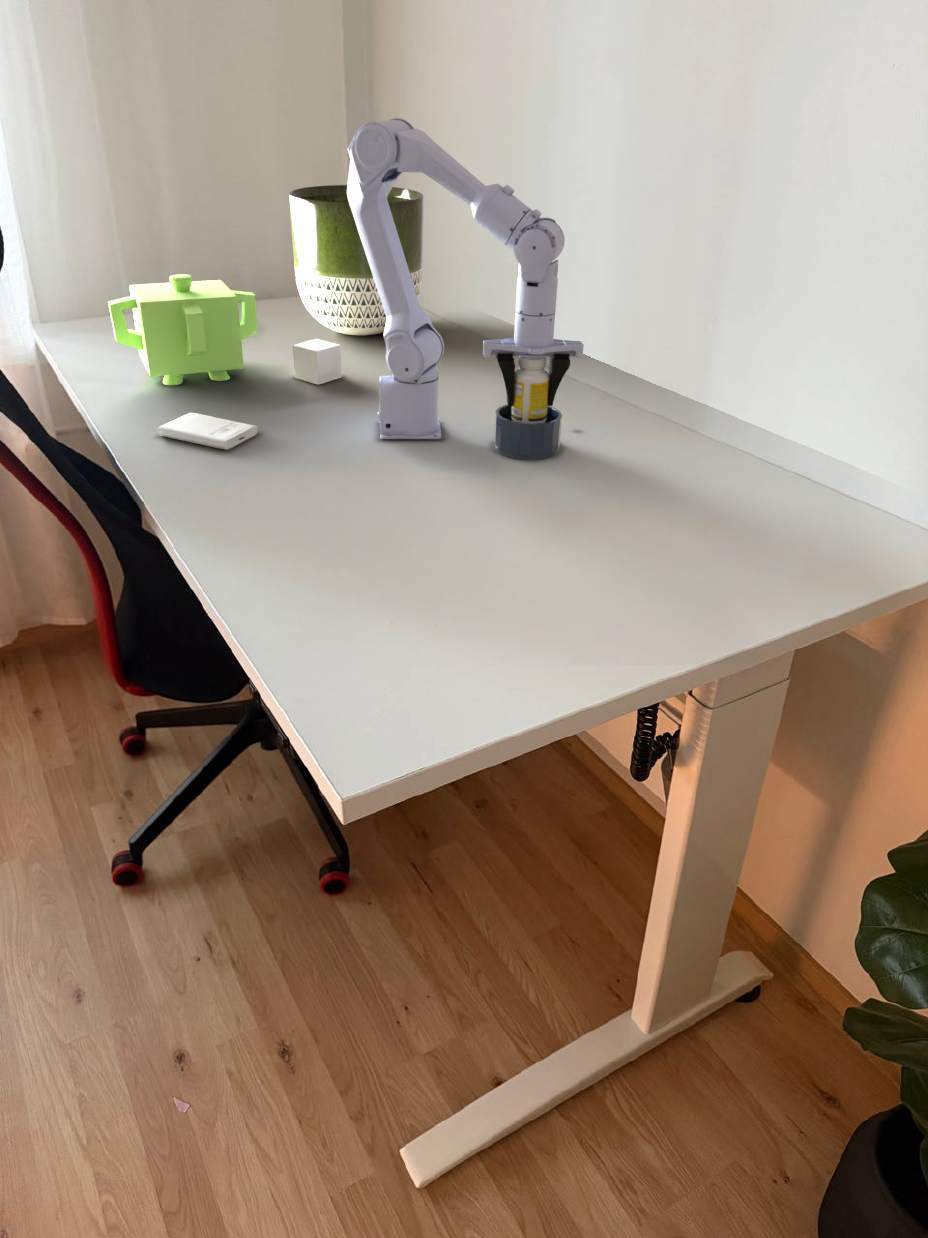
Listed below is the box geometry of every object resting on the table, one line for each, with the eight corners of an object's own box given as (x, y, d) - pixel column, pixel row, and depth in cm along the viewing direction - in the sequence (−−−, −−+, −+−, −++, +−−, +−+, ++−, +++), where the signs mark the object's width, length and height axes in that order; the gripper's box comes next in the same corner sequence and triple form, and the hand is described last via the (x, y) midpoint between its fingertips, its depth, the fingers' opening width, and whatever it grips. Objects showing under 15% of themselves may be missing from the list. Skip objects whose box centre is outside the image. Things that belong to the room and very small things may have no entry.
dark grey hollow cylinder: (497, 459, 141) (499, 424, 138) (491, 435, 150) (492, 402, 147) (563, 459, 142) (566, 424, 139) (553, 435, 151) (556, 402, 148)
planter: (419, 350, 191) (420, 205, 176) (287, 345, 190) (277, 200, 176) (426, 317, 213) (426, 186, 199) (308, 313, 213) (300, 182, 199)
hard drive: (193, 421, 152) (257, 434, 148) (159, 437, 146) (225, 451, 141) (192, 411, 151) (257, 424, 147) (157, 426, 145) (224, 440, 140)
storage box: (129, 399, 160) (112, 294, 151) (114, 362, 178) (98, 266, 169) (274, 384, 169) (267, 285, 160) (246, 351, 186) (238, 259, 178)
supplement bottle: (550, 417, 145) (555, 353, 140) (541, 428, 141) (545, 363, 136) (516, 412, 147) (520, 349, 142) (506, 423, 142) (509, 358, 137)
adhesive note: (318, 370, 177) (316, 338, 174) (341, 377, 174) (340, 344, 171) (294, 377, 173) (292, 344, 170) (318, 384, 170) (316, 351, 167)
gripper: (487, 317, 131) (483, 412, 138) (590, 318, 132) (581, 412, 140) (483, 305, 137) (479, 396, 144) (581, 306, 138) (573, 397, 146)
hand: (529, 403), depth 142 cm, fingers closed on supplement bottle, 5 cm apart
